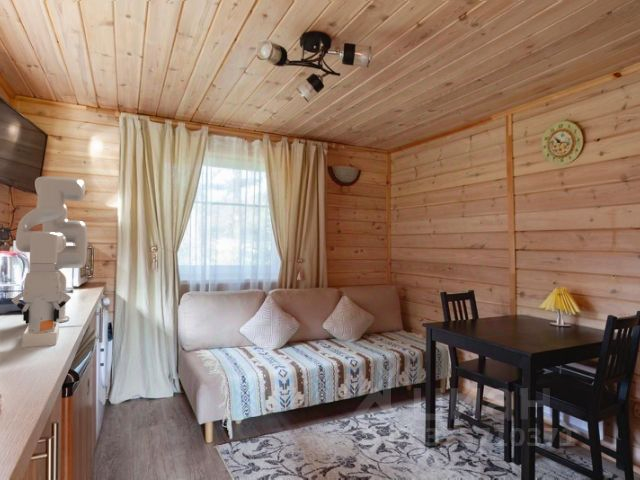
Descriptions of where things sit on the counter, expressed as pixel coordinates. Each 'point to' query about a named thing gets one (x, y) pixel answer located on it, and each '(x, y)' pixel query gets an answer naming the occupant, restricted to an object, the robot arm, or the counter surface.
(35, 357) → the counter surface
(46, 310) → the skincare box
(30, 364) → the counter surface
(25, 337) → the cream rectangular tray
